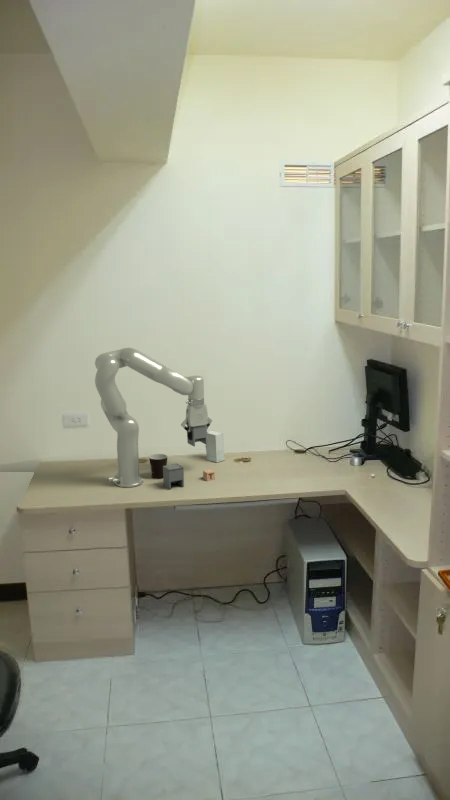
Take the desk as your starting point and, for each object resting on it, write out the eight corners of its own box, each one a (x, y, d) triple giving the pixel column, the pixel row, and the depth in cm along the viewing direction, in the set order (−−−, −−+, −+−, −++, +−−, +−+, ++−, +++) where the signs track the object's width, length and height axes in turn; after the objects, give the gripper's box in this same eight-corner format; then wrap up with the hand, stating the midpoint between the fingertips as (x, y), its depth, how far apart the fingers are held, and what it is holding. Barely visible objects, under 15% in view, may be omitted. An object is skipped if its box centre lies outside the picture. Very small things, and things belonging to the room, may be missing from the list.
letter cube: (207, 481, 268) (207, 473, 268) (203, 478, 272) (203, 470, 271) (214, 479, 270) (214, 471, 269) (210, 477, 274) (210, 469, 273)
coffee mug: (164, 480, 270) (164, 459, 268) (147, 479, 272) (146, 458, 270) (172, 472, 281) (171, 452, 279) (155, 471, 283) (154, 451, 281)
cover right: (193, 446, 274) (193, 428, 272) (187, 443, 280) (187, 424, 278) (207, 444, 277) (206, 426, 275) (200, 440, 283) (200, 423, 281)
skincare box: (224, 460, 298) (224, 432, 295) (216, 463, 294) (215, 434, 291) (213, 457, 304) (213, 429, 301) (205, 459, 300) (204, 431, 297)
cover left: (169, 489, 258) (169, 470, 256) (163, 484, 264) (162, 466, 262) (183, 486, 261) (183, 467, 259) (177, 482, 267) (177, 463, 265)
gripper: (182, 405, 267) (184, 442, 271) (216, 401, 275) (216, 437, 279) (176, 402, 273) (177, 439, 277) (208, 398, 282) (209, 434, 285)
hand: (197, 438), depth 278 cm, fingers closed on cover right, 7 cm apart
